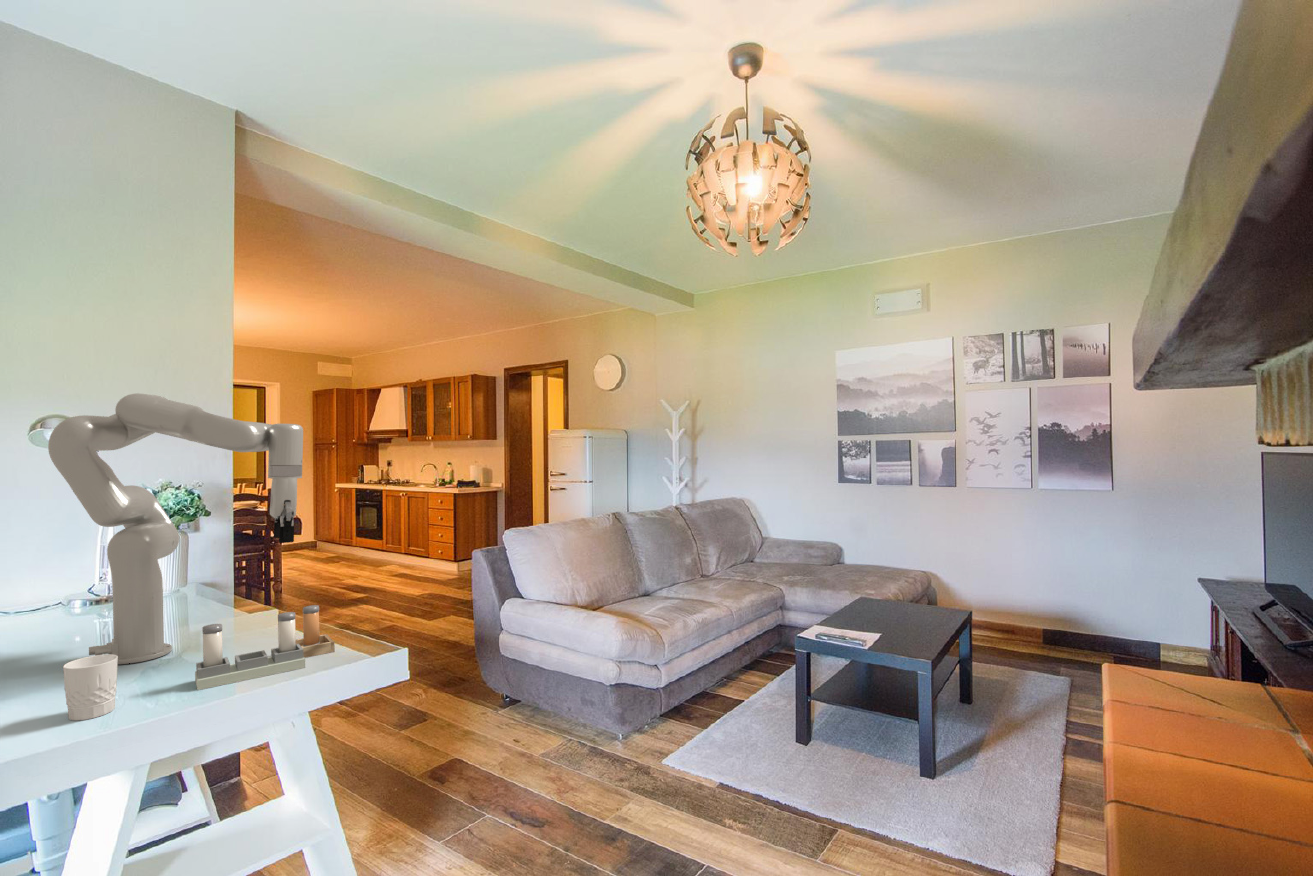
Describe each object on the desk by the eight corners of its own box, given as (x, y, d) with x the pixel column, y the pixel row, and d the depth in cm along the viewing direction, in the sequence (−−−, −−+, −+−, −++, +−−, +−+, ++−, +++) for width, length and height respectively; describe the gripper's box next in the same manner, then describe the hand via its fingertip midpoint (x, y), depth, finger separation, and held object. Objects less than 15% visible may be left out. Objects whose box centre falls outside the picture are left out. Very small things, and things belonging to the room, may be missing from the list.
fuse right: (279, 661, 145) (279, 617, 145) (277, 657, 148) (276, 614, 148) (297, 658, 147) (296, 614, 147) (294, 654, 150) (293, 611, 150)
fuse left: (203, 676, 137) (203, 629, 137) (202, 672, 139) (201, 626, 139) (223, 672, 139) (222, 626, 139) (222, 668, 141) (221, 622, 141)
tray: (295, 659, 152) (295, 649, 152) (288, 650, 159) (288, 641, 159) (334, 651, 158) (334, 641, 158) (326, 643, 164) (326, 634, 164)
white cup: (128, 707, 126) (127, 656, 126) (81, 724, 119) (80, 670, 119) (101, 703, 129) (100, 652, 129) (53, 719, 121) (52, 666, 121)
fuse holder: (197, 690, 134) (197, 671, 134) (195, 680, 140) (194, 662, 140) (305, 667, 147) (304, 650, 147) (299, 659, 152) (299, 642, 152)
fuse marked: (304, 651, 156) (304, 609, 156) (302, 647, 159) (301, 606, 159) (321, 648, 158) (320, 607, 158) (317, 644, 161) (317, 604, 161)
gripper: (264, 470, 169) (262, 536, 169) (272, 474, 155) (270, 545, 155) (296, 470, 173) (295, 534, 173) (307, 473, 159) (305, 543, 159)
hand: (283, 539), depth 164 cm, fingers open, 9 cm apart
